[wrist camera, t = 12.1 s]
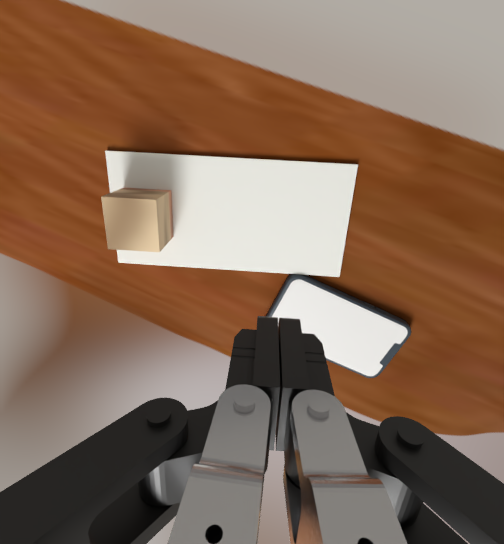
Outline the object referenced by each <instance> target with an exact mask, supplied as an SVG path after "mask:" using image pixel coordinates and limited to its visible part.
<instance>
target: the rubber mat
mask: <svg viewBox="0 0 504 544" xmlns="http://www.w3.org/2000/svg"><path fill="white" fill-rule="evenodd" d="M105 153H106V161H107V170H108V178H109V186H110V193H111V192H114V191H116V190H119V189H121V188H141V189H159V190H171V193H172V214H173V235H174V237H173V238H172V239H171V240H170V241H169V242H168V243H167V245H166V246H165V247H164V248H163V249H162V250H161V251H160V252H147V251H131V250H117V254H118V263H133V264H148V265H163V266H179V267H194V268H210V269H225V270H240V271H256V272H271V273H287V274H302V275H317V276H333V277H340V271H341V265H342V259H343V253H344V246H345V240H346V234H347V228H348V222H349V216H350V210H351V204H352V198H353V192H354V186H355V180H356V174H357V168H358V164H343V163H324V162H306V161H288V160H270V159H252V158H233V157H215V156H197V155H179V154H160V153H142V152H124V151H105Z"/></svg>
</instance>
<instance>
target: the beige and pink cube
mask: <svg viewBox="0 0 504 544" xmlns="http://www.w3.org/2000/svg"><path fill="white" fill-rule="evenodd" d="M101 199H102V206H103V214H104V222H105V229H106V237H107V245H108V249H115V250H131V251H147V252H160V251H161V250H162V249H163V248H164V247H165V246H166V245H167V243H168V242H169V241H170V240H171V239H172V238H173V237H174V235H173V214H172V193H171V190H159V189H141V188H121V189H119V190H116V191H114V192H111V193H109V194H107V195H104V196H102V197H101Z"/></svg>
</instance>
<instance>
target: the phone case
mask: <svg viewBox="0 0 504 544" xmlns="http://www.w3.org/2000/svg"><path fill="white" fill-rule="evenodd" d="M266 317H278V323H279V318H293V319H300V323H301V330H302V333H307V334H315V336H316V337H317V338H318V339H319V340H320V341H321V342H322V344H323V349H324V353H325V354H324V355H325V357H326V360H328V361H330V362H332V363H335V364H337V365H339V366H341V367H344V368H346V369H348V370H351V371H353V372H355V373H358V374H360V375H362V376H364V377H367V378H374V377H377V376H378V375H380V373H381V372H382V371H383V370H384V368H385V367H386V366H387V364H388V363H389V362H390V361H391V359H392V358H393V357H394V356H395V354H396V353H397V352H398V350H399V349H400V348H401V347H402V345H403V344H404V343H405V342H406V340H407V339H408V338H409V336H410V334H411V328H410V326H409V325H408V323H407V322H406V321H405V320H403V319H401V318H399V317H396V316H394V315H392V314H390V313H388V312H386V311H384V310H382V309H380V308H378V307H375V306H373V305H371V304H369V303H367V302H365V301H361V300H359V299H357V298H355V297H353V296H350V295H348V294H346V293H344V292H342V291H339V290H337V289H335V288H333V287H330V286H328V285H326V284H324V283H322V282H319V281H317V280H315V279H313V278H311V277H308V276H306V275H302V274H291V275H289V276H288V278H287V279H286V281H285V283H284V284H283V286H282V288H281V290H280V292H279V293H278V295H277V297H276V299H275V301H274V302H273V304H272V306H271V308H270V310H269V311H268V313H267V315H266Z"/></svg>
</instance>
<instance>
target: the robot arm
mask: <svg viewBox="0 0 504 544" xmlns="http://www.w3.org/2000/svg"><path fill="white" fill-rule="evenodd" d="M324 354H325V353H324V349H323V344H322V342H321V341H320V340H319V339H318V338H317V337H316V336H315V334H307V333H302V330H301V323H300V319H293V318H279V323H278V317H263V316H258V320H257V330H249V329H242V330H241V331H240V332H239V333H238V334H237V335H236V336H235V338H234V344H233V349H232V355H231V361H230V368H229V372H228V378H227V384H226V389H225V391H224V392H223V393H222V394H221V396H220V397H219V400H218V401H216V402H215V403H213V404H212V405H210V406H207V407H204V408H200V409H195V410H189V411H187V409H186V408H185V406H184V405H183V404H182V403H181V402H179V401H177V400H175V399H171V398H157V399H154V400H150V401H148V402H146V403H144V404H142V405H141V406H139V407H138V408H136V409H134V410H133V411H131V412H129V413H128V414H126V415H125V416H123V417H121V418H120V419H118V420H116V421H115V422H113V423H112V424H110V425H108V426H107V427H105V428H104V429H102V430H100V431H99V432H97V433H95V434H94V435H92V436H90V437H89V438H87V439H86V440H84V441H82V442H81V443H79V444H78V445H76V446H74V447H73V448H71V449H69V450H68V451H66V452H65V453H63V454H61V455H60V456H58V457H57V458H55V459H53V460H52V461H50V462H48V463H47V464H45V465H44V466H42V467H40V468H39V469H37V470H36V471H34V472H32V473H31V474H29V475H27V476H26V477H24V478H23V479H21V480H19V481H18V482H16V483H14V484H13V485H11V486H10V487H8V488H6V489H5V490H3V491H2V492H0V544H147V543H148V542H149V541H150V540H151V539H152V538H153V537H154V536H155V535H156V534H157V533H158V532H159V531H160V530H161V529H162V528H163V527H164V526H165V525H166V524H167V523H169V522H170V520H172V519H173V518H174V517H175V516H176V515H177V516H176V519H175V522H174V525H173V528H172V532H171V535H170V538H169V541H168V544H257V543H258V533H259V523H260V513H261V503H262V493H263V483H264V474H265V472H266V470H267V466H268V456H269V450H274V442H275V433H276V451H284V456H285V457H284V458H285V465H284V473H283V483H284V492H285V501H286V510H287V518H288V528H289V536H290V544H468V543H466V542H465V541H464V540H463V539H462V538H461V537H460V536H459V535H457V534H456V533H455V532H454V531H453V530H452V529H451V528H450V527H449V526H448V525H446V524H445V523H444V522H443V521H442V520H441V519H440V518H439V517H438V516H437V515H436V514H434V513H433V512H432V511H431V510H430V509H429V508H428V507H426V505H424V504H423V502H425V503H426V504H427V505H428V506H429V507H430V508H431V509H432V510H433V511H434V512H436V513H437V514H438V515H439V516H440V517H441V518H442V519H443V520H445V521H446V522H447V523H448V524H449V525H450V526H451V527H452V528H453V529H454V530H456V531H457V532H458V533H459V534H460V535H461V536H462V537H463V538H465V539H466V540H467V541H468V542H469V543H470V544H504V484H503V483H502V482H501V481H499V480H498V479H496V478H495V477H494V476H492V475H491V474H490V473H488V472H487V471H485V470H484V469H482V468H481V467H480V466H478V465H477V464H476V463H474V462H473V461H472V460H470V459H469V458H467V457H466V456H465V455H463V454H462V453H461V452H459V451H458V450H456V449H455V448H454V447H452V446H451V445H450V444H448V443H447V442H445V441H444V440H443V439H441V438H440V437H439V436H437V435H436V434H434V433H433V432H432V431H430V430H429V429H427V428H426V427H425V426H423V425H422V424H420V423H418V422H416V421H414V420H412V419H409V418H405V417H390V418H387V419H385V420H384V421H382V423H381V424H380V427H379V426H376V425H373V424H370V423H367V422H364V421H361V420H359V419H356V418H354V417H353V416H351V415H349V414H348V413H346V411H345V409H344V407H343V405H342V403H341V402H340V401H339V400H338V399H337V398H336V397H335V396H334V392H333V387H332V383H331V379H330V374H329V370H328V366H327V364H326V357H325V355H324Z"/></svg>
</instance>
